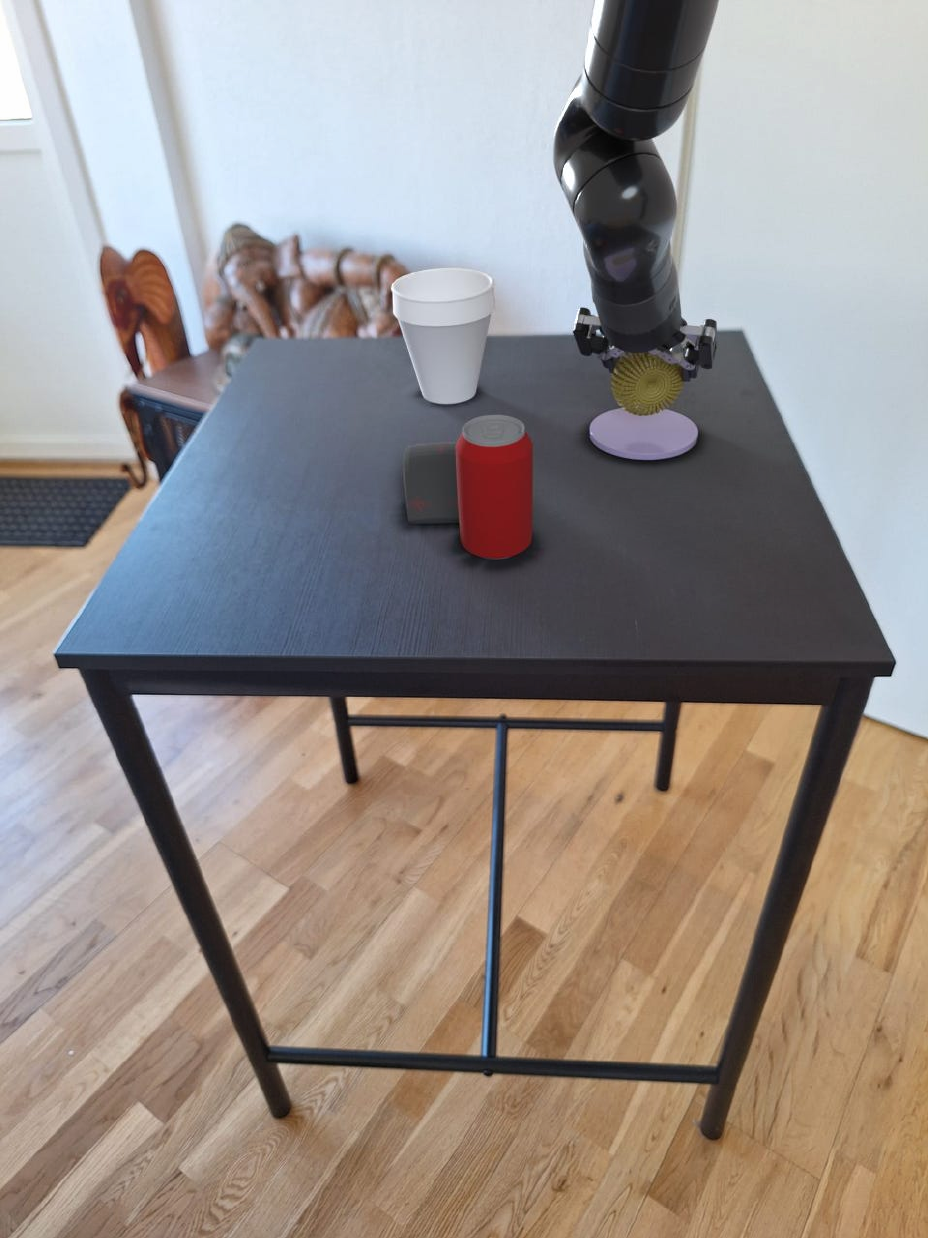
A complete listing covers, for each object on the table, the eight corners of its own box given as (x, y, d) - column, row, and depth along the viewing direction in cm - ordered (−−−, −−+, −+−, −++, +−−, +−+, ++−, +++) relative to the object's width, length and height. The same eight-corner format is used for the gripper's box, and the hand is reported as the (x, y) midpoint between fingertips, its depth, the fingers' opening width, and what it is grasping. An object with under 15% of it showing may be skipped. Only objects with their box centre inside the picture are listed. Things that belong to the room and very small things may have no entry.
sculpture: (673, 403, 95) (682, 333, 90) (685, 418, 92) (694, 347, 87) (604, 409, 95) (609, 339, 90) (613, 425, 92) (619, 353, 87)
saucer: (705, 421, 98) (706, 413, 97) (685, 469, 89) (687, 460, 88) (604, 408, 102) (604, 400, 101) (576, 453, 93) (576, 445, 92)
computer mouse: (482, 458, 93) (481, 424, 91) (481, 524, 82) (480, 488, 80) (410, 460, 93) (407, 427, 91) (400, 526, 83) (396, 490, 80)
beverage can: (533, 526, 82) (534, 410, 74) (530, 566, 76) (531, 446, 69) (464, 525, 82) (458, 410, 75) (457, 564, 77) (450, 445, 70)
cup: (493, 413, 102) (490, 299, 93) (393, 413, 103) (381, 300, 95) (501, 373, 111) (499, 266, 103) (409, 373, 113) (400, 267, 104)
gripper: (725, 260, 74) (726, 343, 90) (569, 249, 79) (595, 330, 94) (707, 340, 74) (710, 410, 89) (551, 325, 78) (580, 393, 94)
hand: (651, 369), depth 92 cm, fingers closed on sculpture, 7 cm apart
